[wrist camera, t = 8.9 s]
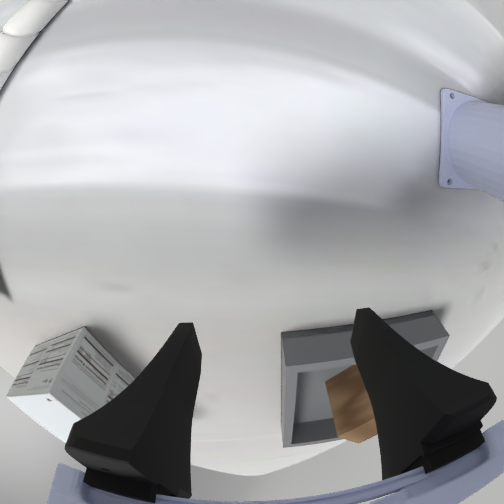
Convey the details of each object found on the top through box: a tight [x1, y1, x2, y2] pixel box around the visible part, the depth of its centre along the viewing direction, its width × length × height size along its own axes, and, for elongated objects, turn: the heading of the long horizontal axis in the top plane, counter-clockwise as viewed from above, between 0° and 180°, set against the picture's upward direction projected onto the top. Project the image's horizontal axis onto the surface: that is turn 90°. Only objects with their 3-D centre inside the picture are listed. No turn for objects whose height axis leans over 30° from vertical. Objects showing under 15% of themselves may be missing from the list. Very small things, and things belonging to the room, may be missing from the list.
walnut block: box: [325, 364, 378, 443], centre depth 24 cm, size 4×4×7 cm
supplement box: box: [6, 327, 135, 443], centre depth 25 cm, size 17×13×9 cm
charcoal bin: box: [281, 310, 450, 448], centre depth 26 cm, size 16×18×4 cm
